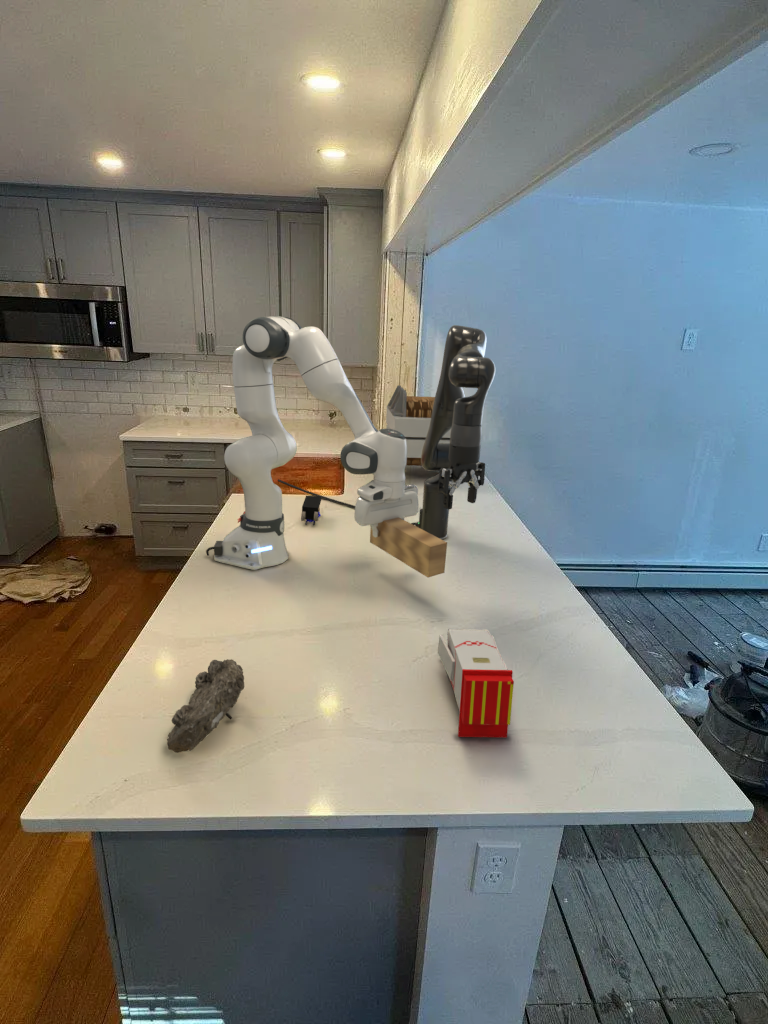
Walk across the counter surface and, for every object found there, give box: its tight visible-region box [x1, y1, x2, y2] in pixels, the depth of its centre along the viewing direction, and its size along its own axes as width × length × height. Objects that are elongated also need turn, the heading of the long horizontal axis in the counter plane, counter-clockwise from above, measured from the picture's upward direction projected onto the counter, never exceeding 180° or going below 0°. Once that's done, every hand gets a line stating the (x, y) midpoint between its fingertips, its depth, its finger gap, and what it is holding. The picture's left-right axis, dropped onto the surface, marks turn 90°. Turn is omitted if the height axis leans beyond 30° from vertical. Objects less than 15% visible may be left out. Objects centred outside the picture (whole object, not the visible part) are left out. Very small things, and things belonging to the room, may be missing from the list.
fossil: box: [166, 658, 245, 754], centre depth 106 cm, size 22×10×15 cm
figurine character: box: [300, 495, 323, 526], centre depth 207 cm, size 7×8×15 cm
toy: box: [437, 628, 515, 738], centre depth 117 cm, size 12×13×30 cm
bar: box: [369, 518, 448, 578], centre depth 155 cm, size 26×6×9 cm, turn 36°
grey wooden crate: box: [385, 384, 454, 482], centre depth 268 cm, size 34×33×41 cm
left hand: (386, 534), depth 162 cm, fingers closed on bar, 5 cm apart
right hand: (459, 505), depth 142 cm, fingers open, 8 cm apart
